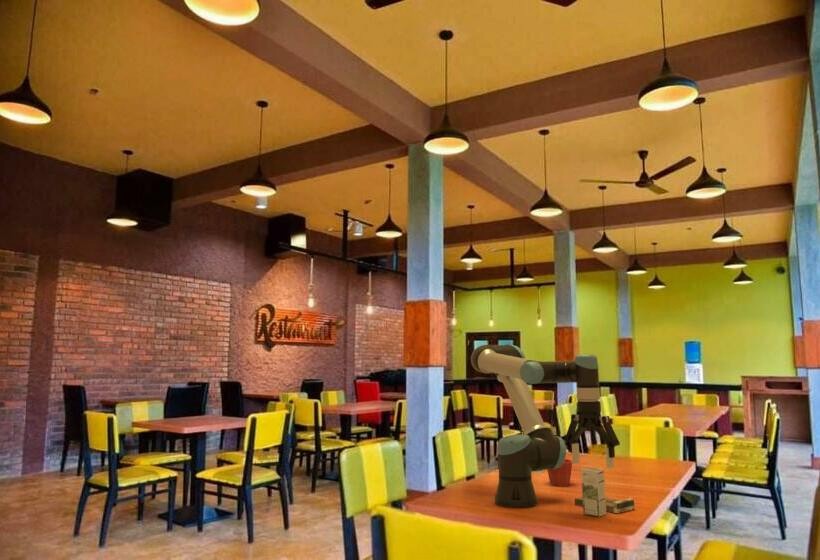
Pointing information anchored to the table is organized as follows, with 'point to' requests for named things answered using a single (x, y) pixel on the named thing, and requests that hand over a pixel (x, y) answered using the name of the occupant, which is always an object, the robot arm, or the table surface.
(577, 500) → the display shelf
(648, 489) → the table surface
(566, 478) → the flower pot
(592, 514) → the syrup box
